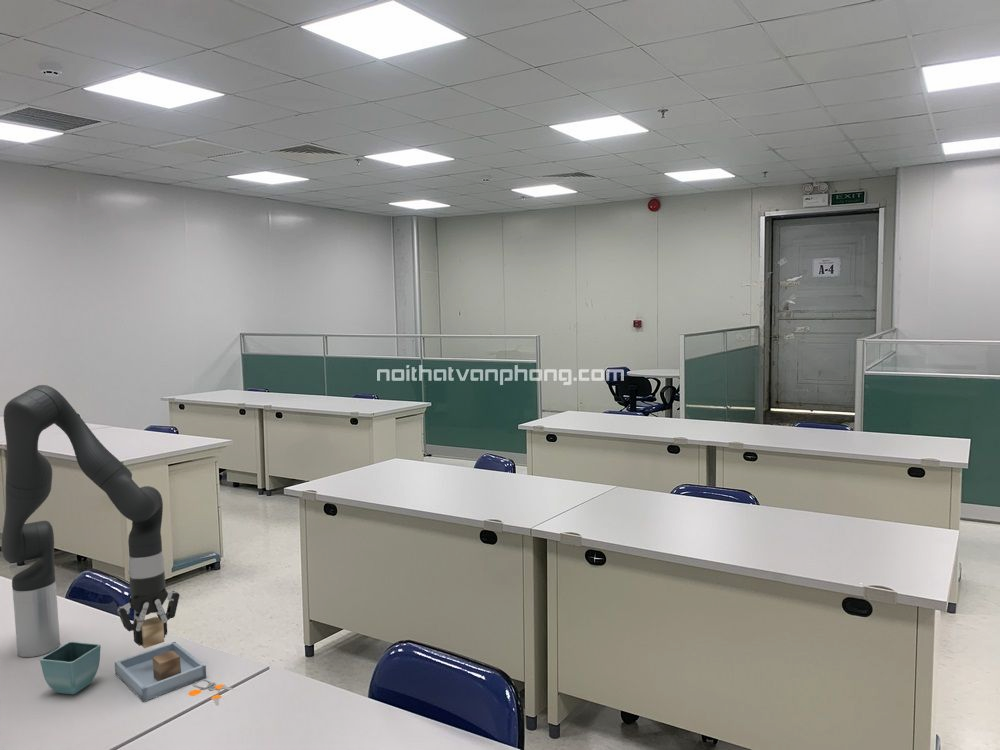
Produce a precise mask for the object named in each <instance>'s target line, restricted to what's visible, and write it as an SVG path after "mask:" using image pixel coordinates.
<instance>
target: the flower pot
mask: <svg viewBox="0 0 1000 750" xmlns="http://www.w3.org/2000/svg"><path fill="white" fill-rule="evenodd" d="M101 648H102V647H101V644H98V643H89V642H80V641H79V642H78V641H68V642H66V643H64V644H63V645H61V646H59V647H58V648H56V649H55V650H53V651H51V652H49V653H47V654H46V655H44V656H43V657H41V658H40V659H39V661H40V666H41V667H40V668H41V670H42V673H43V678H44V680H45V682H46V684H47V685H48V687H50V689H51V690H52V691H54V692H55V693H56V694H64V695H76V694H78V693H79V692H80V691H82V690H83V689H85V688H86V687H87V686H90V685H91V684H92V682H93V681H94V679H95V677H96V676H97V673H98V670H99V667H100V659H101Z"/></svg>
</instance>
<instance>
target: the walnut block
mask: <svg viewBox="0 0 1000 750" xmlns="http://www.w3.org/2000/svg"><path fill="white" fill-rule="evenodd" d="M153 673H154V679H156V680H157V681H161V680H164V679H166V678H169V677H172V676H174V675H177V674H180V673H181V664H180V656H179V655H178V654H176V653H175V652H174V651H169V652H166V653H163V654H161V655H158V656H155V657H153Z"/></svg>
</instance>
